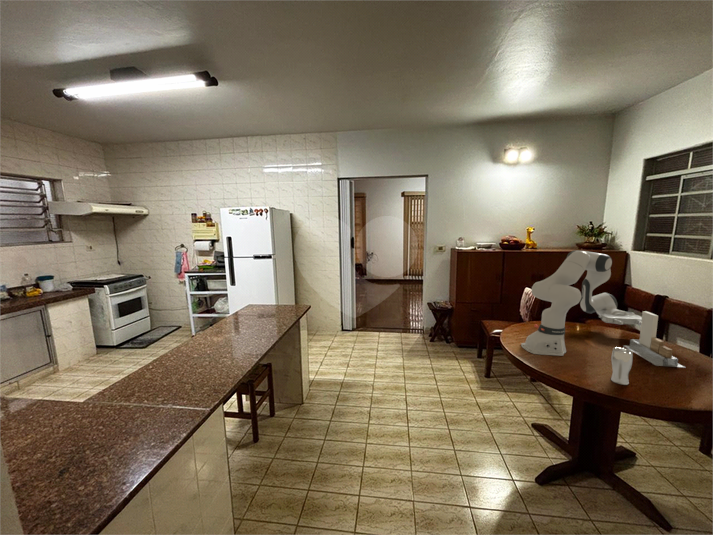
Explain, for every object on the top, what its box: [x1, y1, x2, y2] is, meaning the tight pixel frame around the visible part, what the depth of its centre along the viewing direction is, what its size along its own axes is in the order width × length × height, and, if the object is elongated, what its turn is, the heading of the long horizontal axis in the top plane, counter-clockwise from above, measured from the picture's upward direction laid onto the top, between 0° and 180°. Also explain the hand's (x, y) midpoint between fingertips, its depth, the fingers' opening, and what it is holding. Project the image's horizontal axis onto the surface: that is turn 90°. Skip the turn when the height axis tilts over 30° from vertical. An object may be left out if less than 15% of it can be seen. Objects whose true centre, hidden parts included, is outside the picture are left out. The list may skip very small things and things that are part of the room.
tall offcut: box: [651, 337, 665, 353], centre depth 148 cm, size 2×5×10 cm, turn 166°
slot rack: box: [622, 338, 686, 369], centre depth 151 cm, size 12×25×6 cm, turn 166°
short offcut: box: [659, 345, 673, 358], centre depth 143 cm, size 2×5×8 cm, turn 166°
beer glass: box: [610, 346, 634, 386], centre depth 129 cm, size 7×7×15 cm
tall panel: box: [638, 310, 659, 349], centre depth 154 cm, size 2×8×22 cm, turn 166°
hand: (631, 323), depth 166 cm, fingers open, 8 cm apart
